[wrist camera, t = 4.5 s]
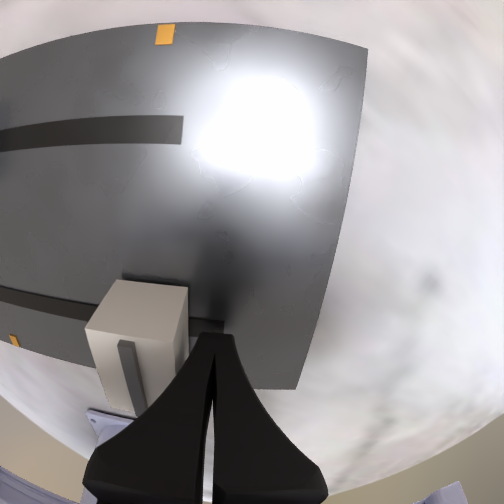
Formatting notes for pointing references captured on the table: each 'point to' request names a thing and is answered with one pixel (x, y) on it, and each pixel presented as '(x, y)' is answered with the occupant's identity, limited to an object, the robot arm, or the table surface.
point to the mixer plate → (177, 182)
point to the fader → (139, 341)
